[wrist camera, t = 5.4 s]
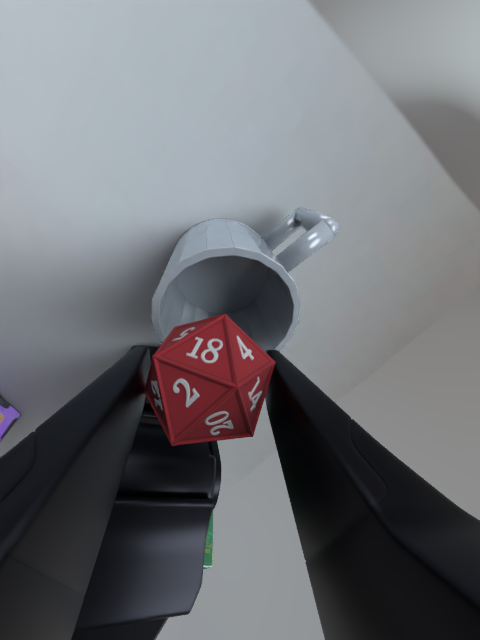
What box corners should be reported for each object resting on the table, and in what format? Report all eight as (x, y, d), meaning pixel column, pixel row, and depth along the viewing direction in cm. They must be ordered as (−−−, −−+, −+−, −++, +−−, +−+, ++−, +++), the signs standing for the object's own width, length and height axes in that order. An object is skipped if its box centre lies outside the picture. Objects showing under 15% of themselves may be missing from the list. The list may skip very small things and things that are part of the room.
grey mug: (219, 328, 21) (223, 388, 15) (149, 268, 17) (117, 320, 11) (323, 248, 17) (379, 287, 12) (266, 151, 13) (309, 137, 8)
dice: (268, 359, 10) (298, 451, 7) (172, 380, 10) (154, 484, 7) (256, 285, 8) (292, 367, 4) (134, 312, 8) (79, 416, 4)
